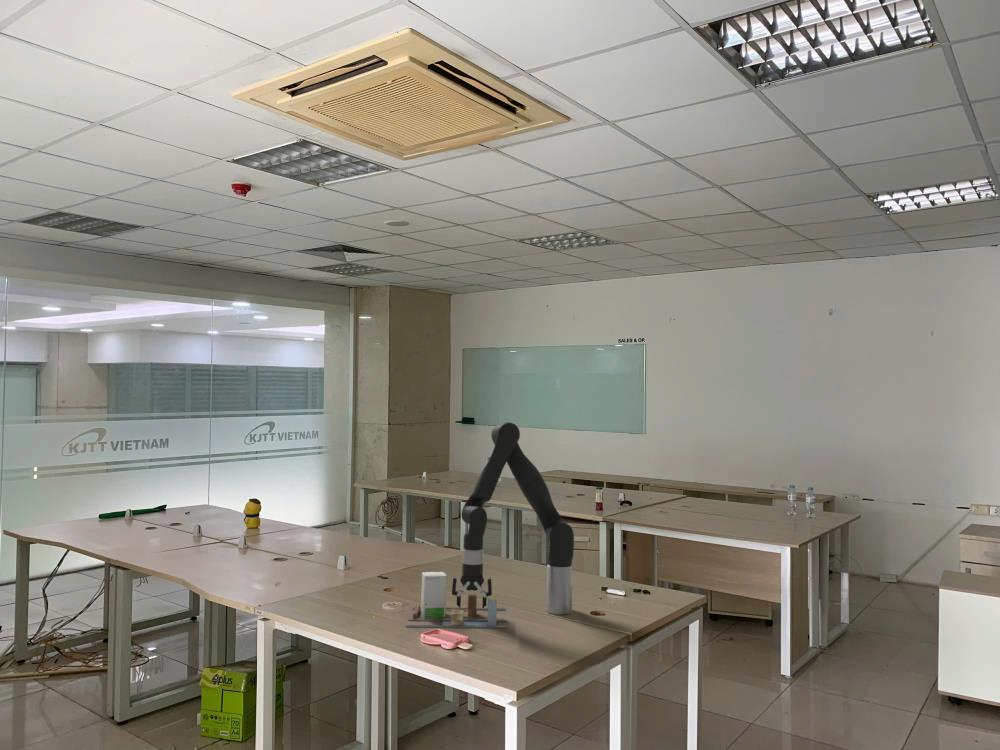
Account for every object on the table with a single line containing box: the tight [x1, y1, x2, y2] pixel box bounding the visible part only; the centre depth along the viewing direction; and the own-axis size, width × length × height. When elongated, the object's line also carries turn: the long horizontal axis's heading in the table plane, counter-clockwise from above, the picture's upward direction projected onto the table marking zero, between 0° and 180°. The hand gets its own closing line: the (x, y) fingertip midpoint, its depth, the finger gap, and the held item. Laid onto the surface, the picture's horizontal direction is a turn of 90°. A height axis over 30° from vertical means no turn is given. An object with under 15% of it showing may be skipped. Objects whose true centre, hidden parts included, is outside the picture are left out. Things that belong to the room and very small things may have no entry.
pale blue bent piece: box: [441, 598, 498, 626], centre depth 240 cm, size 18×5×9 cm, turn 91°
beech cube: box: [450, 610, 464, 625], centre depth 239 cm, size 4×4×4 cm
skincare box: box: [419, 571, 448, 618], centre depth 250 cm, size 8×7×16 cm
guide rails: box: [405, 606, 508, 629], centre depth 246 cm, size 34×22×2 cm, turn 91°
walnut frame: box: [412, 593, 478, 619], centre depth 250 cm, size 22×12×8 cm, turn 91°
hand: (471, 607), depth 250 cm, fingers open, 8 cm apart
